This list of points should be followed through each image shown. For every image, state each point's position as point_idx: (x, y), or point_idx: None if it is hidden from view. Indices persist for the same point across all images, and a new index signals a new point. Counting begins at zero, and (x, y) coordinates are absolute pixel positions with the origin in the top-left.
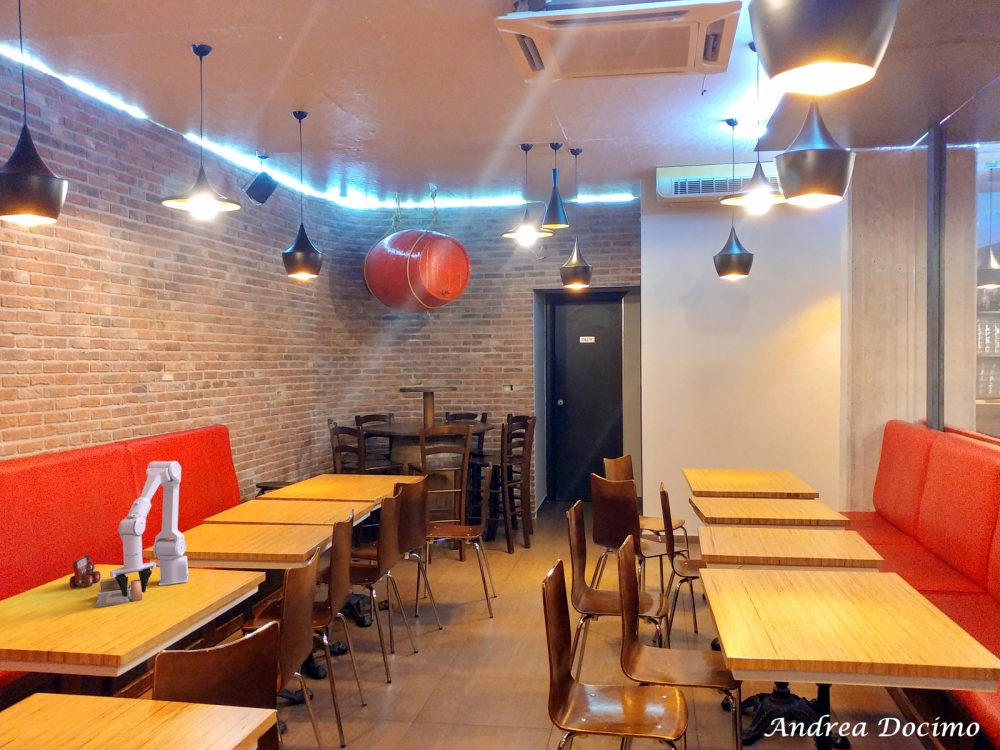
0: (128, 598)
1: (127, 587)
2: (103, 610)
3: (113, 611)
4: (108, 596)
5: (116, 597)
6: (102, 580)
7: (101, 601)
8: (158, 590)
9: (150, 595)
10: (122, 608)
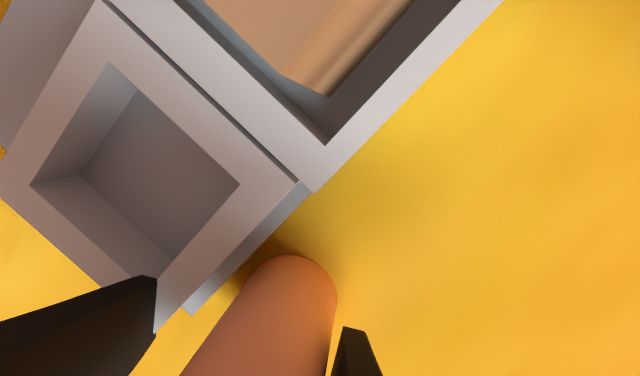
0: (227, 259)
1: (340, 68)
2: (5, 257)
3: None
4: (32, 143)
5: (74, 260)
6: None
7: (40, 64)
8: (619, 261)
9: (437, 316)
10: None
